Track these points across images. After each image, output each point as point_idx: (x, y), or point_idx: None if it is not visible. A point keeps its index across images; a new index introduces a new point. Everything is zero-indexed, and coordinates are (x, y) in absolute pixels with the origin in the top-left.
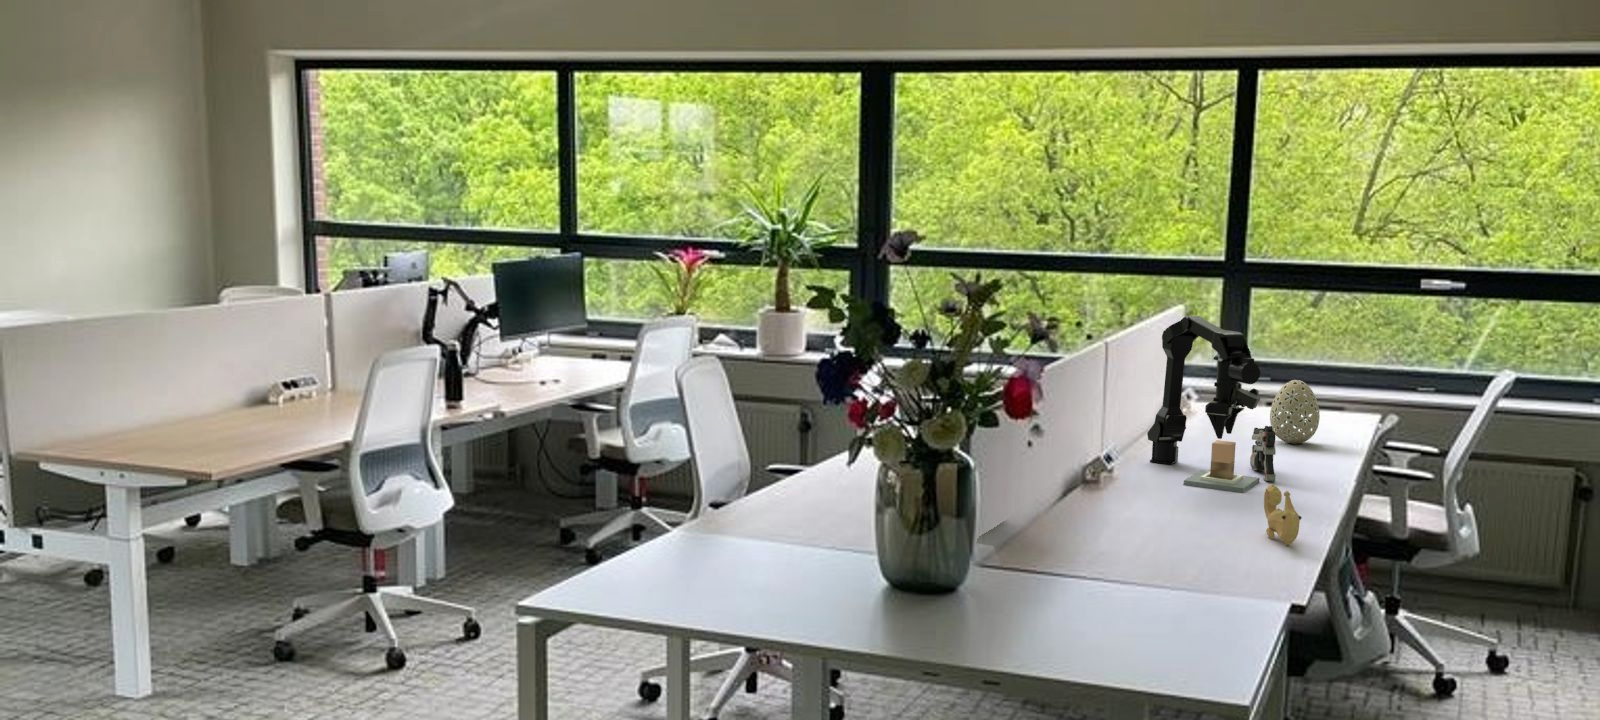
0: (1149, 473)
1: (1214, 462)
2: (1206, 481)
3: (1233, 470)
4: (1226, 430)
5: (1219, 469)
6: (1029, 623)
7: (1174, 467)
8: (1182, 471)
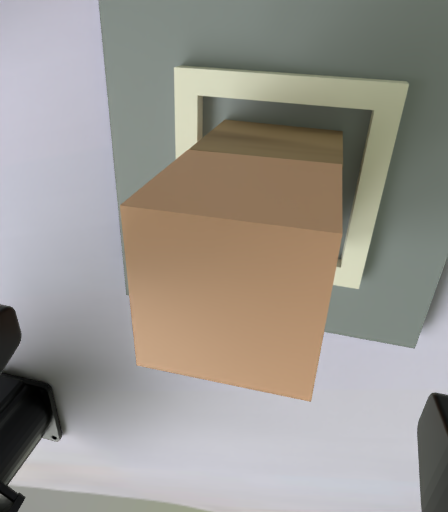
0: (240, 440)
1: None
2: (397, 248)
3: (224, 132)
4: (2, 368)
5: None
6: None
7: (78, 372)
8: (125, 347)
